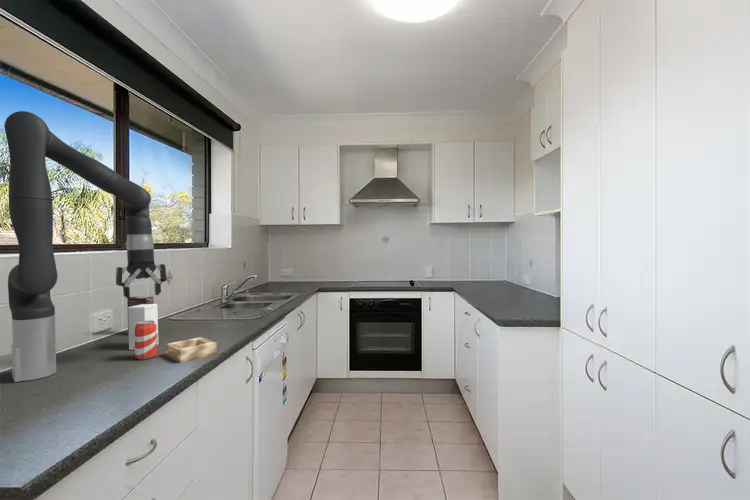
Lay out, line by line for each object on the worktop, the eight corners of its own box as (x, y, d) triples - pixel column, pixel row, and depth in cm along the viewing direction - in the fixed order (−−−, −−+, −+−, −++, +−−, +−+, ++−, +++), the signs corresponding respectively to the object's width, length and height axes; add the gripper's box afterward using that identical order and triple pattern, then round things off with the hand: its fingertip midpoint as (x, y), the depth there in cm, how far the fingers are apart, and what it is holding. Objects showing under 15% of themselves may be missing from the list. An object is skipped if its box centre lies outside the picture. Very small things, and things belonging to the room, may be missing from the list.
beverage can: (130, 359, 122) (129, 323, 122) (146, 354, 128) (146, 319, 128) (145, 361, 121) (145, 324, 120) (161, 355, 127) (160, 320, 127)
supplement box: (154, 333, 158) (154, 296, 158) (146, 336, 153) (145, 297, 153) (135, 332, 159) (135, 296, 159) (127, 335, 154) (126, 297, 154)
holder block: (180, 362, 119) (180, 350, 119) (165, 355, 126) (165, 344, 126) (216, 354, 128) (216, 342, 128) (201, 347, 136) (200, 337, 136)
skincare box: (145, 350, 133) (144, 307, 133) (127, 350, 133) (126, 307, 133) (159, 343, 141) (158, 303, 141) (142, 343, 142) (141, 303, 141)
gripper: (117, 249, 115) (120, 300, 116) (167, 247, 126) (169, 294, 126) (112, 249, 121) (115, 298, 121) (160, 247, 131) (163, 292, 132)
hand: (143, 296), depth 124 cm, fingers open, 8 cm apart
